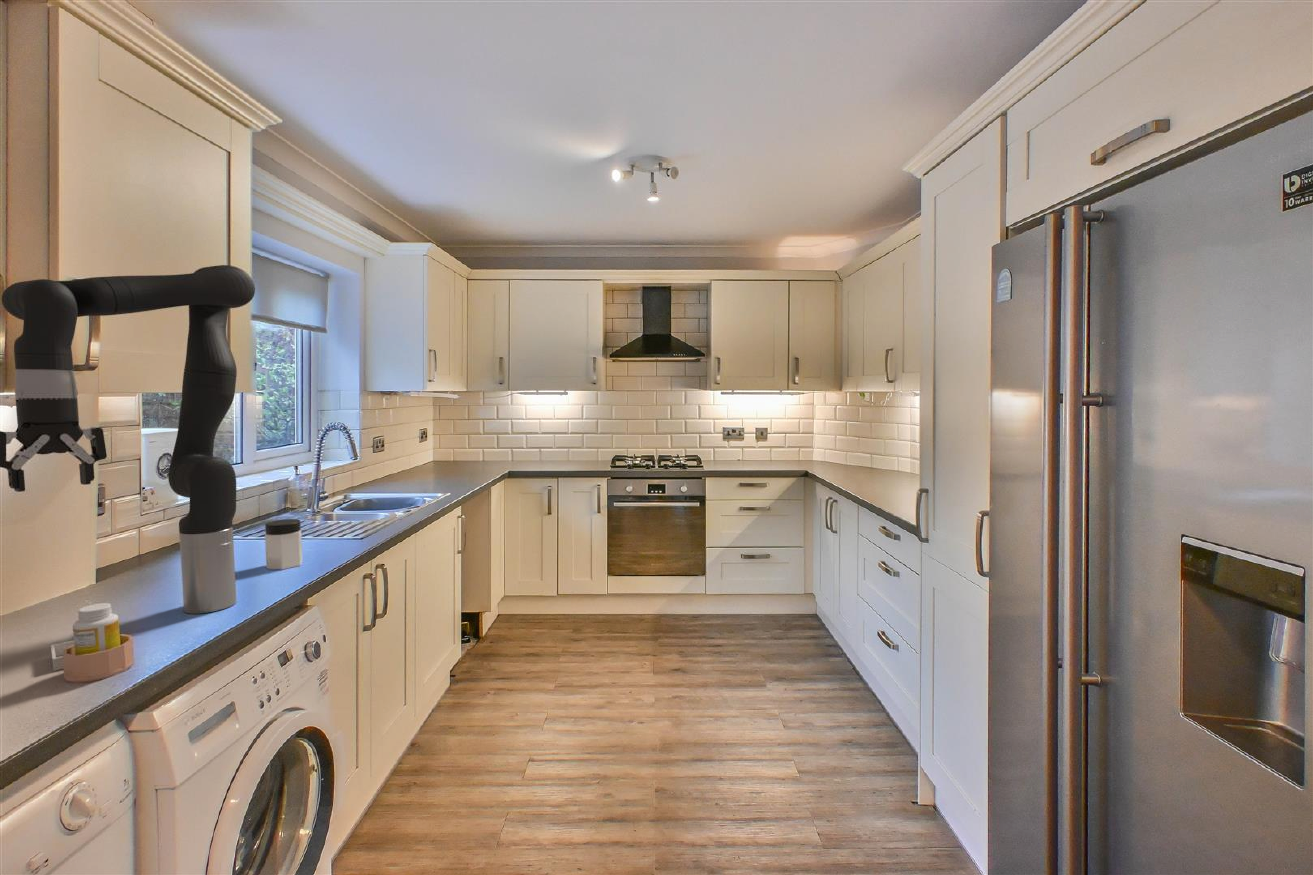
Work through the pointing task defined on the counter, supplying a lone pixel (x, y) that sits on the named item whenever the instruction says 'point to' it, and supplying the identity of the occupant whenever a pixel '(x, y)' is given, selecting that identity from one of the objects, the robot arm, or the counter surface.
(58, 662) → the tray
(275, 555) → the jar
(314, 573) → the counter surface
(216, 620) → the counter surface
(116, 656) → the terracotta bowl
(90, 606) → the supplement bottle
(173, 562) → the counter surface
